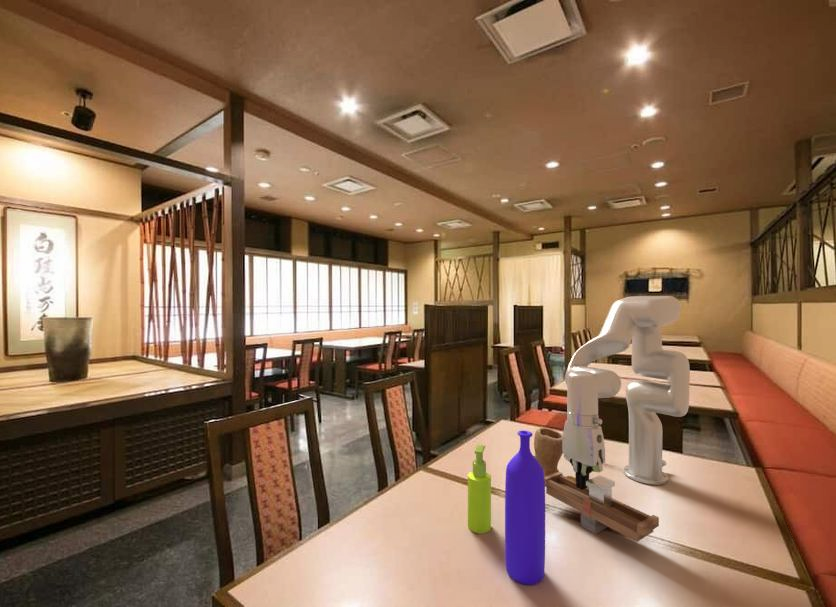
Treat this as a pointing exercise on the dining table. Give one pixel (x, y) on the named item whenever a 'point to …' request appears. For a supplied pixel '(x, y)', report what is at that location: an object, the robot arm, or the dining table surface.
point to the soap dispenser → (479, 495)
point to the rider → (601, 490)
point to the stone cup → (548, 449)
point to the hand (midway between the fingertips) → (582, 487)
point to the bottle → (525, 516)
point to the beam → (600, 510)
